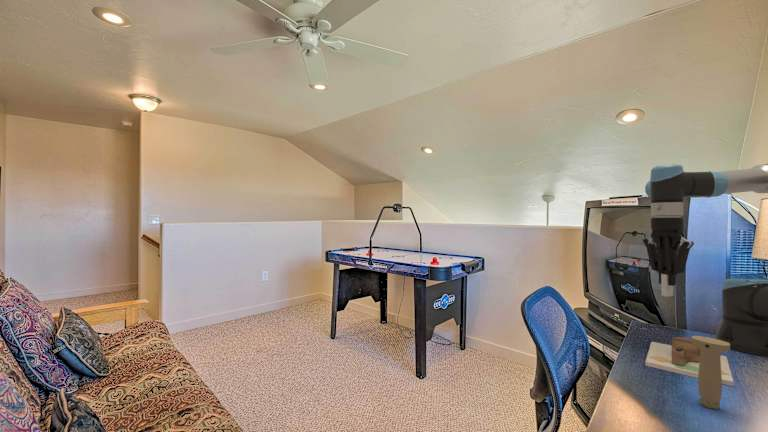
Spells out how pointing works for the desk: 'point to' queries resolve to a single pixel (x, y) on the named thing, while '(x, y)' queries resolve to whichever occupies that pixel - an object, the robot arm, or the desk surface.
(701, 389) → the handle
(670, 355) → the board
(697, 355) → the brown frying pan
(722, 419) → the desk surface
